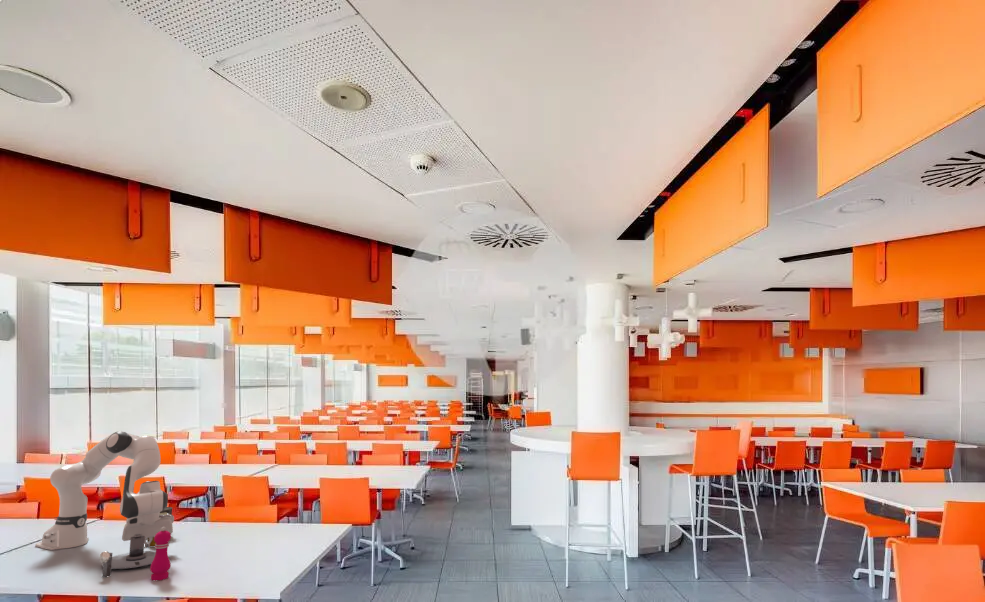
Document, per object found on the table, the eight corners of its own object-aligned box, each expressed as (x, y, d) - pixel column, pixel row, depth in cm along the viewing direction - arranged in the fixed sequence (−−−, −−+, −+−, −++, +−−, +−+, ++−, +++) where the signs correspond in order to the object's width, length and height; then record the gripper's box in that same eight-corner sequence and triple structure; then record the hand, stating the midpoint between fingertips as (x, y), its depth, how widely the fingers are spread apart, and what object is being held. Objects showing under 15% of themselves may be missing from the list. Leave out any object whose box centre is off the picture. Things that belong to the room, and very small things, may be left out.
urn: (122, 561, 250) (124, 537, 251) (131, 556, 257) (133, 532, 259) (140, 560, 251) (142, 536, 252) (149, 555, 258) (151, 532, 259)
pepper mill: (164, 574, 239) (168, 524, 242) (173, 577, 235) (176, 526, 238) (145, 579, 233) (149, 527, 236) (154, 582, 229) (158, 530, 232)
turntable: (89, 570, 240) (91, 555, 241) (119, 553, 264) (120, 540, 265) (151, 567, 244) (152, 553, 244) (174, 551, 267) (175, 538, 268)
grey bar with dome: (97, 577, 235) (100, 551, 236) (104, 575, 238) (106, 549, 239) (106, 578, 234) (108, 552, 235) (112, 576, 237) (115, 550, 238)
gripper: (174, 511, 275) (172, 541, 274) (123, 518, 265) (121, 549, 264) (174, 514, 269) (173, 545, 268) (122, 521, 259) (121, 553, 258)
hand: (147, 547), depth 266 cm, fingers closed
